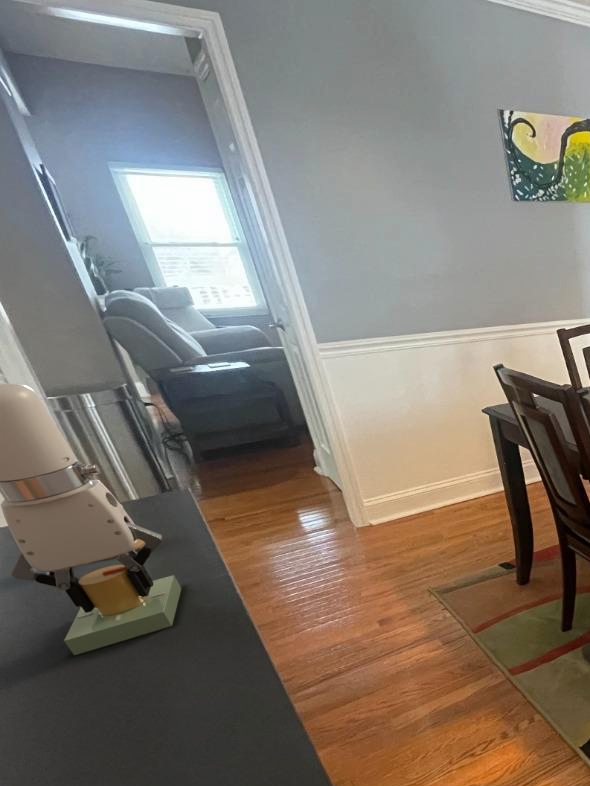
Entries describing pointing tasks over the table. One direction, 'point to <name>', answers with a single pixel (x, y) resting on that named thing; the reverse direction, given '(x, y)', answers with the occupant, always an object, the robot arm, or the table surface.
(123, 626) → the base
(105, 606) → the tap handle
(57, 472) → the robot arm
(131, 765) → the table surface
